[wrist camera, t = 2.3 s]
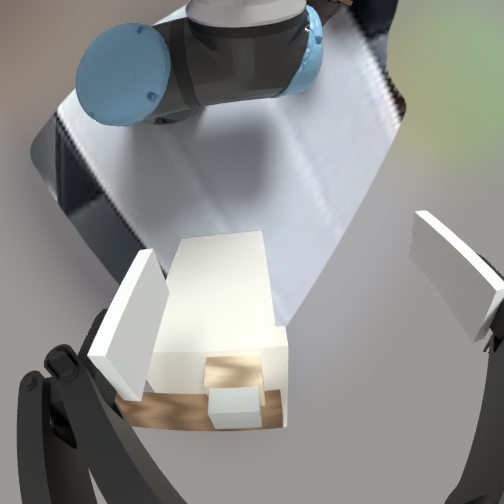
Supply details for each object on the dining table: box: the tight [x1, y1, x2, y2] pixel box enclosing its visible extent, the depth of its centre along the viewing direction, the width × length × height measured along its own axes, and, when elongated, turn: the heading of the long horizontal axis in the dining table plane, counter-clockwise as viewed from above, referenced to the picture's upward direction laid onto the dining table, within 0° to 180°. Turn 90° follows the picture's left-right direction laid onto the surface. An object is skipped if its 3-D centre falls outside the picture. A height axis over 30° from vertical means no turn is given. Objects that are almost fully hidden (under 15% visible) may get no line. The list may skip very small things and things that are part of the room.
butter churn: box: [306, 0, 353, 26], centre depth 24 cm, size 9×10×28 cm
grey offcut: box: [208, 386, 262, 429], centre depth 26 cm, size 5×4×3 cm
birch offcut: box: [204, 354, 265, 406], centre depth 29 cm, size 6×5×4 cm
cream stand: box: [146, 230, 288, 427], centre depth 48 cm, size 18×22×30 cm
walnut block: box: [115, 389, 283, 431], centre depth 33 cm, size 28×4×4 cm, turn 95°
